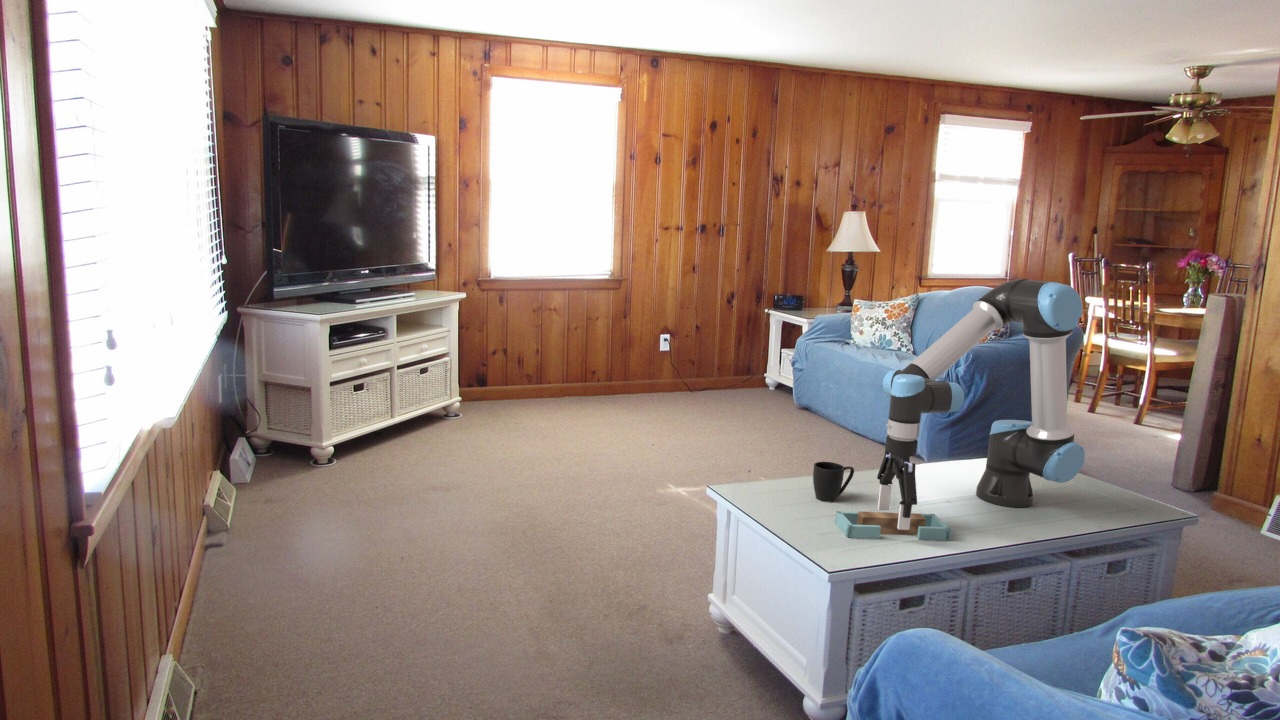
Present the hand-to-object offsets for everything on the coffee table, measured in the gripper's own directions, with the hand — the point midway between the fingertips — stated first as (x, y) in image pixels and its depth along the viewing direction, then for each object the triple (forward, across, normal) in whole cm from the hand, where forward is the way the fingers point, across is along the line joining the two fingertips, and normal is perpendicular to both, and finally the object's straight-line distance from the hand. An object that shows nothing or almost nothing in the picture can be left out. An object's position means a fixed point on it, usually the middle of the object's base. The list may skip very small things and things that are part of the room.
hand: (892, 519), depth 215 cm
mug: (+3, -24, -8) cm, 26 cm away
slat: (+3, 0, 0) cm, 4 cm away
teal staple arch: (+3, 0, +9) cm, 10 cm away
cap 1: (+3, 0, -9) cm, 10 cm away
